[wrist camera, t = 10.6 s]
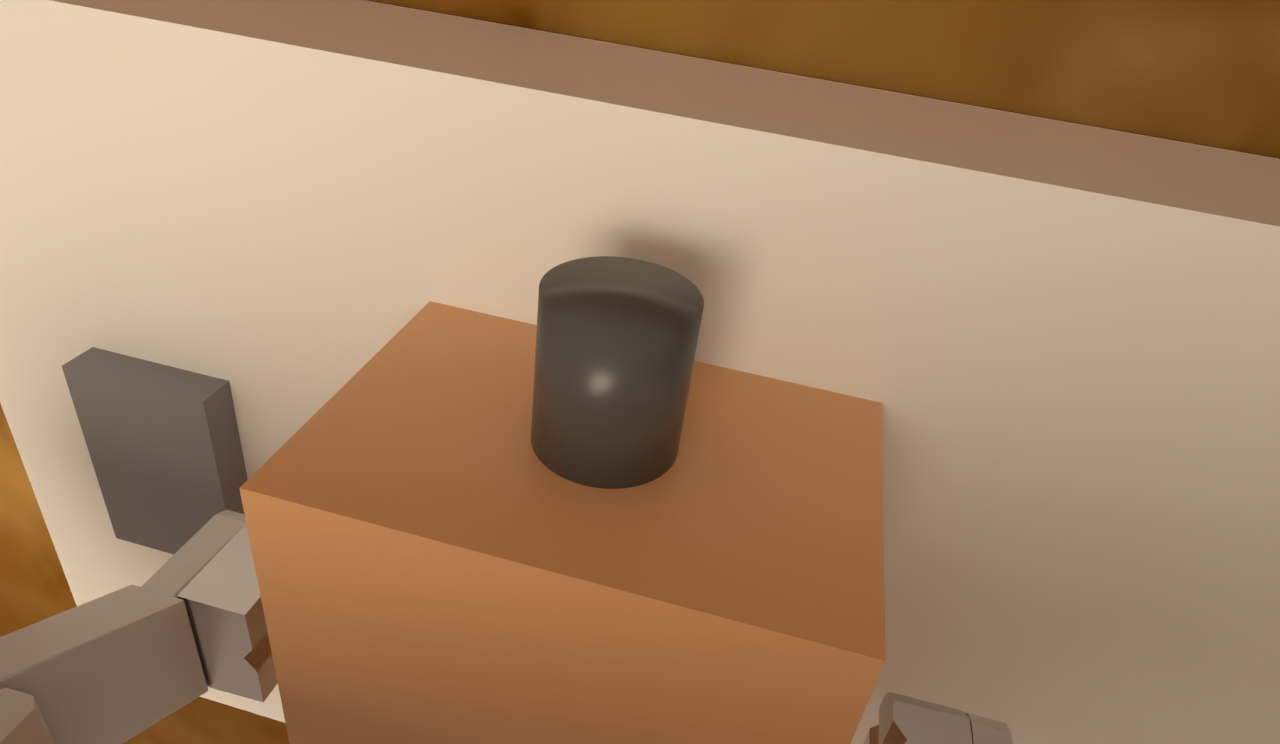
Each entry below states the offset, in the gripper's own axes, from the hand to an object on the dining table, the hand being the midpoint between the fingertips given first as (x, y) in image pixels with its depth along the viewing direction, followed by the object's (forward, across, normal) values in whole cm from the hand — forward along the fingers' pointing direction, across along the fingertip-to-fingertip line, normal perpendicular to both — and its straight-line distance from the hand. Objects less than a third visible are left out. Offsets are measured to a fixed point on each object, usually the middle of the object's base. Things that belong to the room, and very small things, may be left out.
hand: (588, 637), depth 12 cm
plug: (+4, 0, 0) cm, 4 cm away
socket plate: (+4, 0, 0) cm, 4 cm away
